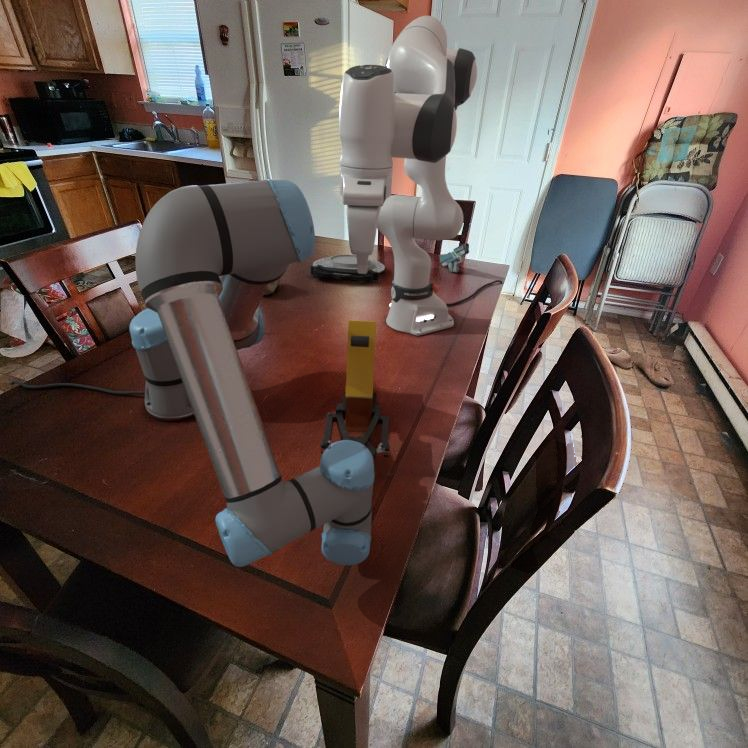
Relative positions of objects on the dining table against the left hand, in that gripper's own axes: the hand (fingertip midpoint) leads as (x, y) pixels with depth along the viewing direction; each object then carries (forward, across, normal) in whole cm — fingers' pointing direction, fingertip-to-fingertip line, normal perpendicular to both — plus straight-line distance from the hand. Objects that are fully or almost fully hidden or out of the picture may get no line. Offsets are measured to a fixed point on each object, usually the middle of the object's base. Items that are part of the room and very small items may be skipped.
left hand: (359, 397), depth 93 cm
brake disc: (+92, -10, -6) cm, 93 cm away
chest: (+3, 0, -6) cm, 7 cm away
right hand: (+2, 0, +30) cm, 30 cm away
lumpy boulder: (+69, -39, -6) cm, 79 cm away
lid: (-1, 0, +11) cm, 11 cm away
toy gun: (+98, +34, -6) cm, 104 cm away
